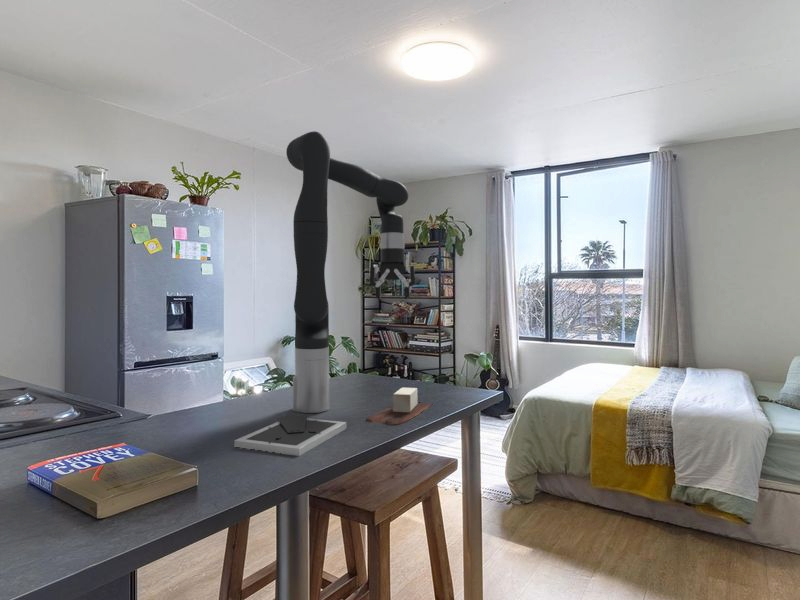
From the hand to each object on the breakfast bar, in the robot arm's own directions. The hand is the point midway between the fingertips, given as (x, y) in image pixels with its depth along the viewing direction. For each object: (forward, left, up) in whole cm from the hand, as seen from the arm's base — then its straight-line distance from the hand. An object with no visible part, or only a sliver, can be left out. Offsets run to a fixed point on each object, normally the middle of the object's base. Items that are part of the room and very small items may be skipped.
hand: (392, 299), depth 154 cm
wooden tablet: (+5, -22, -31) cm, 39 cm away
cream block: (+7, -16, -27) cm, 32 cm away
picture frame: (-17, -47, -31) cm, 59 cm away
